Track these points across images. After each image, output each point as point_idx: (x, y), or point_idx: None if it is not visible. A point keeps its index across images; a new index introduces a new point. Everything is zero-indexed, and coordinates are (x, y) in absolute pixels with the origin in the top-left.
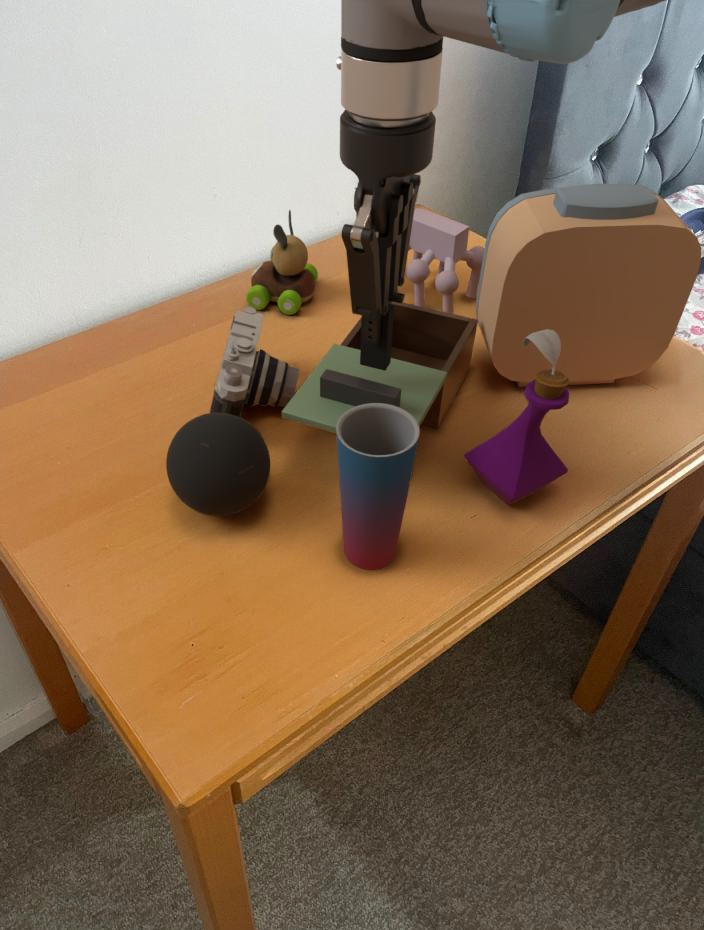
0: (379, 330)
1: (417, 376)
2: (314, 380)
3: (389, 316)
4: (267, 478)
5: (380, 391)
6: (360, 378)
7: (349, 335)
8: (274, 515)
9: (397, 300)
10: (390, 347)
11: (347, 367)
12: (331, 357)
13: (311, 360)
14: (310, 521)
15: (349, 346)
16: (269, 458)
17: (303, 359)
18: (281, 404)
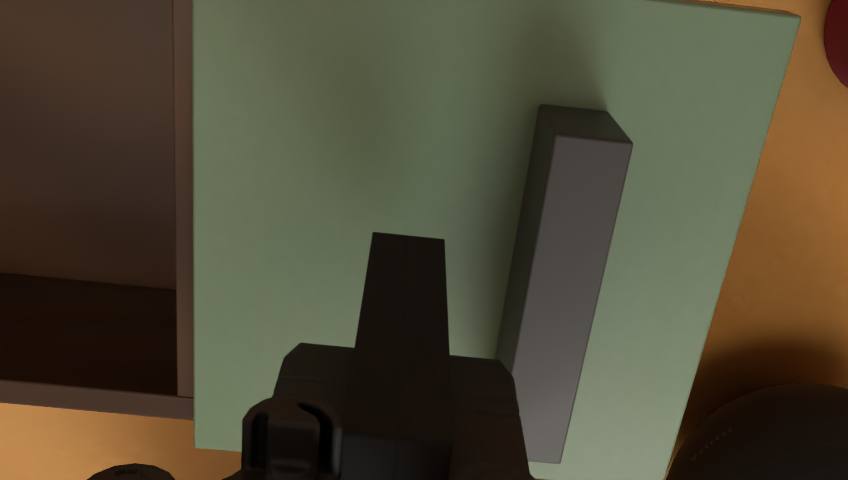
0: (483, 407)
1: (284, 80)
2: None
3: (434, 417)
4: (836, 402)
5: (603, 220)
6: (526, 322)
7: (79, 403)
8: (794, 312)
9: (340, 443)
10: (384, 278)
11: None
12: None
13: (88, 421)
14: (805, 218)
15: (132, 380)
16: (805, 434)
17: (95, 443)
18: None
